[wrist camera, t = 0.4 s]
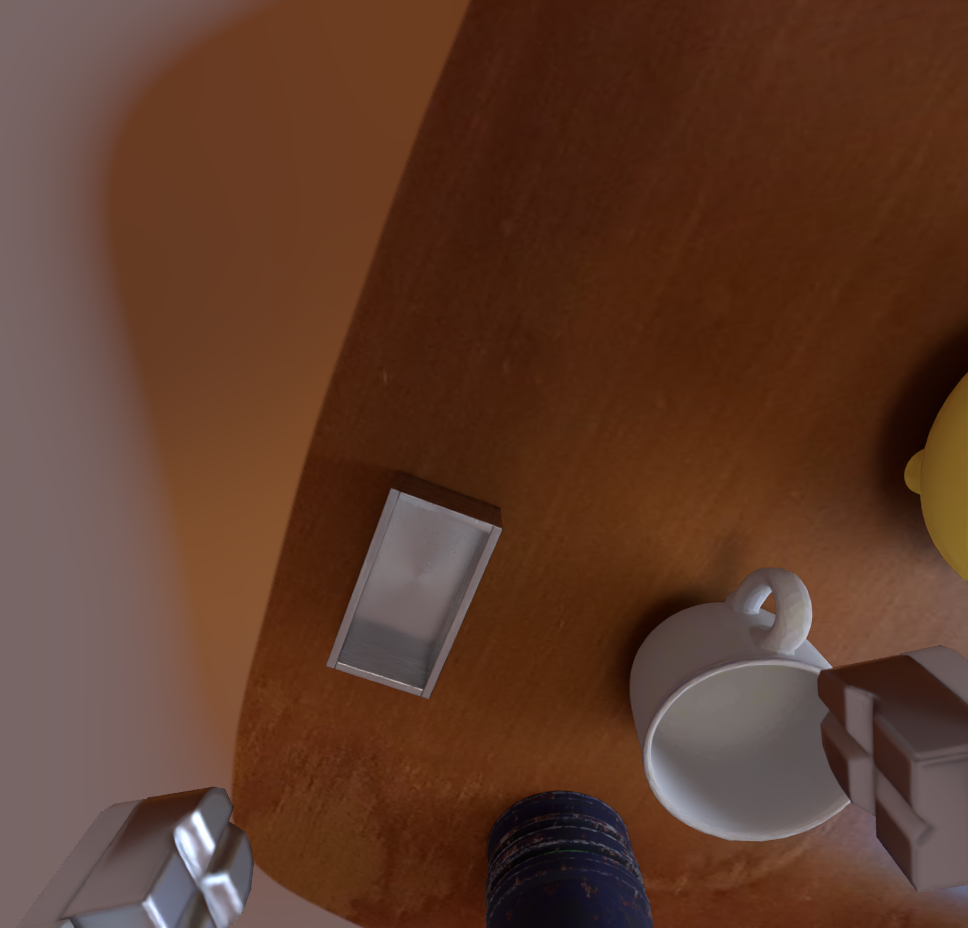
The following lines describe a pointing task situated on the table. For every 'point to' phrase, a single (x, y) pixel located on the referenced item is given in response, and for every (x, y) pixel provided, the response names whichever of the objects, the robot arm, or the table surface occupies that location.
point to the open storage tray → (415, 585)
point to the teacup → (737, 714)
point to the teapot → (945, 479)
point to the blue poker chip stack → (563, 867)
